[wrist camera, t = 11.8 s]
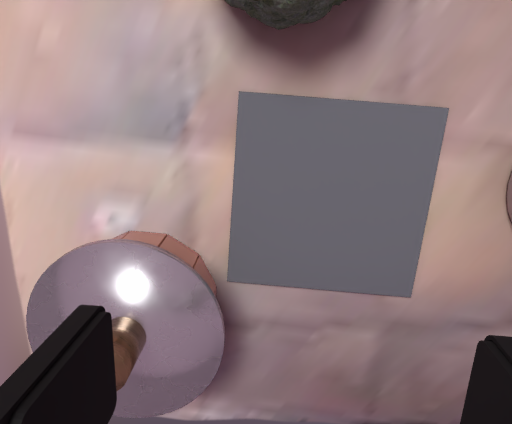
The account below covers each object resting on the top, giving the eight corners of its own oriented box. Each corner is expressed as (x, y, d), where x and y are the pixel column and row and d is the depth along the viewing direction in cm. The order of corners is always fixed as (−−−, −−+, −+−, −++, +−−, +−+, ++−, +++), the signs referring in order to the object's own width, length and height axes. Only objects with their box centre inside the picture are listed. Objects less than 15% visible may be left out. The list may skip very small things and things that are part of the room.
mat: (447, 107, 34) (449, 108, 34) (409, 295, 39) (410, 297, 39) (239, 91, 35) (238, 91, 34) (227, 279, 40) (227, 281, 39)
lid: (230, 247, 32) (221, 277, 27) (220, 418, 37) (211, 471, 32) (23, 230, 32) (-23, 257, 27) (39, 402, 37) (2, 452, 32)
